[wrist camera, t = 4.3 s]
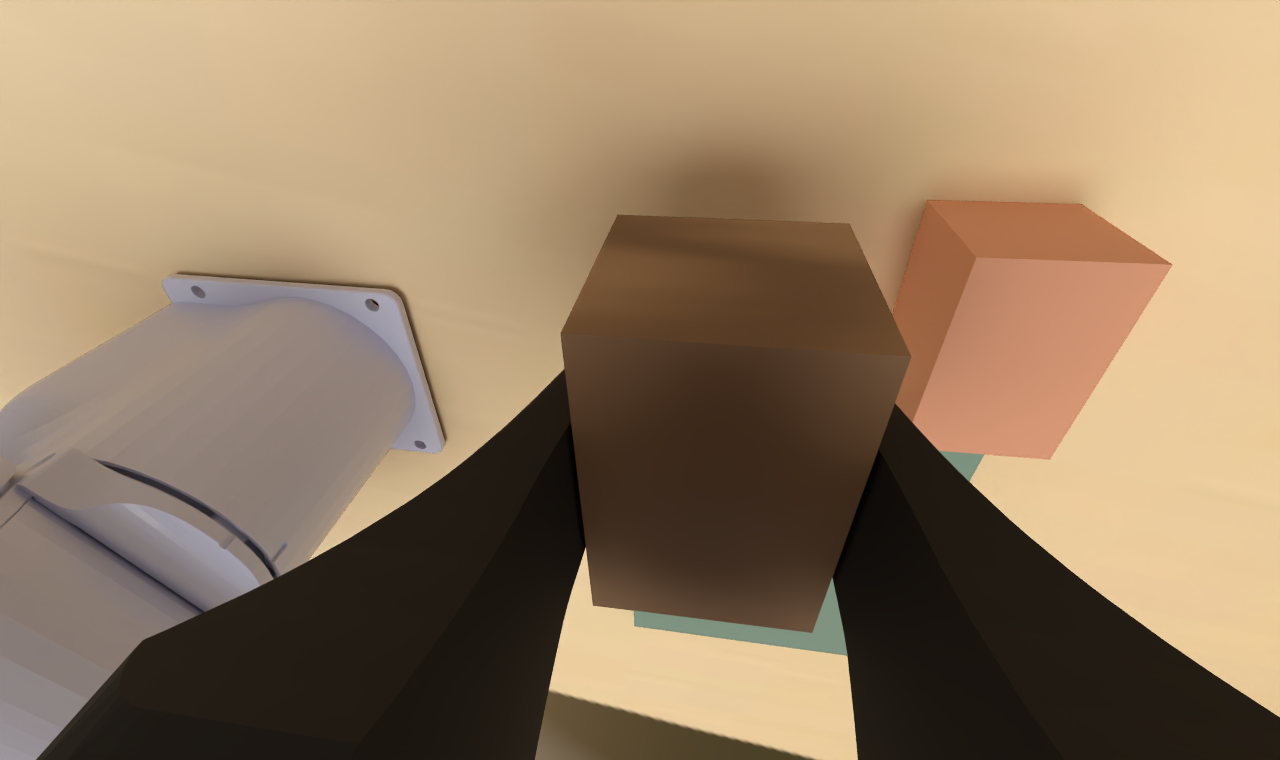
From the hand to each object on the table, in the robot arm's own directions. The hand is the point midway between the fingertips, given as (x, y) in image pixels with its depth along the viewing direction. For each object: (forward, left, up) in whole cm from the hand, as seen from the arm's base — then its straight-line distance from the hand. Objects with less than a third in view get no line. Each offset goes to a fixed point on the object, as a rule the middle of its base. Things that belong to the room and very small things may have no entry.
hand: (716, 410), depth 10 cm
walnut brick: (0, 0, -2) cm, 2 cm away
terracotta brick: (+8, -2, -9) cm, 12 cm away
